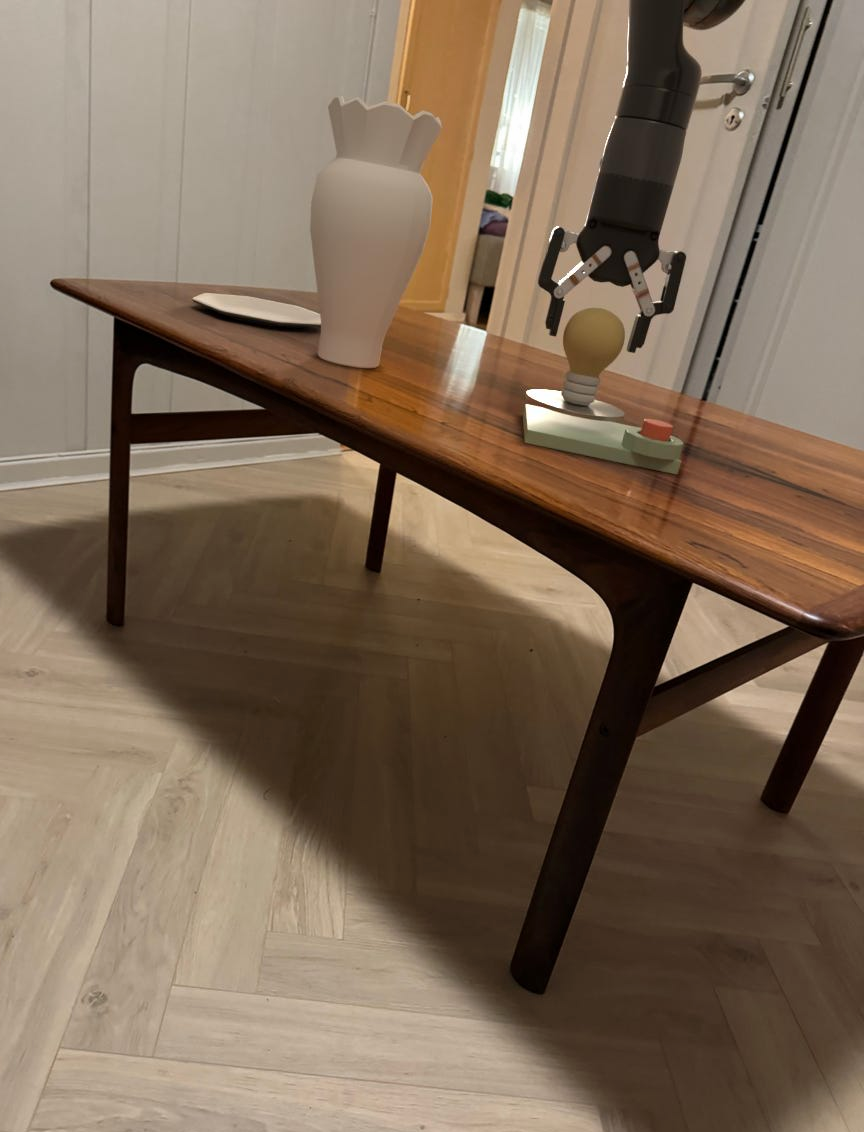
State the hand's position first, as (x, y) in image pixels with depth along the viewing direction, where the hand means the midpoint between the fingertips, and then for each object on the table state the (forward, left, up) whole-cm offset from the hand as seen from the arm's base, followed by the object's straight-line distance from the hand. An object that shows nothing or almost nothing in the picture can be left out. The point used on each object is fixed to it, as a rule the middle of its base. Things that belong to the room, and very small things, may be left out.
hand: (591, 343), depth 97 cm
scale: (-3, +2, -10) cm, 11 cm away
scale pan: (0, 0, -7) cm, 7 cm away
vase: (+28, -17, -10) cm, 34 cm away
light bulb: (0, 0, -7) cm, 7 cm away
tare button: (-8, +7, -7) cm, 13 cm away
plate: (+45, -38, -10) cm, 60 cm away
